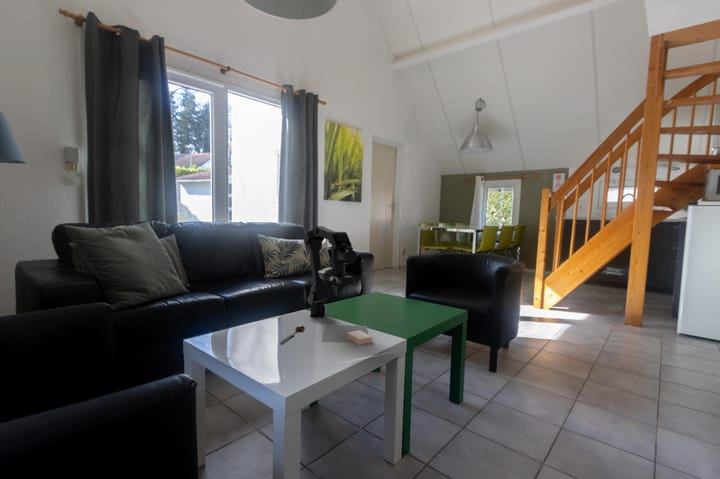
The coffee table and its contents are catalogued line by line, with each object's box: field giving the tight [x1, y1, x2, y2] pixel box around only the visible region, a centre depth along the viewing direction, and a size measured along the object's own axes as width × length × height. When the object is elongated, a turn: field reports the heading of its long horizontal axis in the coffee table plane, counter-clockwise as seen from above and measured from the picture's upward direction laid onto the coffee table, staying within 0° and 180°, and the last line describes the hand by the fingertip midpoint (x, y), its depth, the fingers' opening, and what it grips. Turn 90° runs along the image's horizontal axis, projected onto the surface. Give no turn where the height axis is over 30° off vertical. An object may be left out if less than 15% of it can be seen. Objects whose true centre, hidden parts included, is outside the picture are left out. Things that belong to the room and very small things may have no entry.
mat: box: [321, 324, 369, 343], centre depth 142 cm, size 18×20×1 cm
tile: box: [347, 330, 373, 346], centre depth 135 cm, size 2×6×9 cm
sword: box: [279, 325, 306, 346], centre depth 137 cm, size 25×4×2 cm, turn 165°
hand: (337, 297), depth 151 cm, fingers closed
